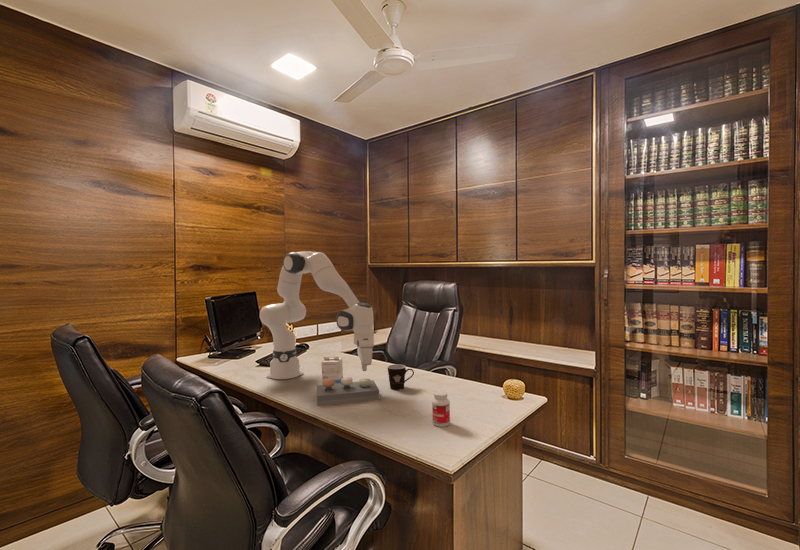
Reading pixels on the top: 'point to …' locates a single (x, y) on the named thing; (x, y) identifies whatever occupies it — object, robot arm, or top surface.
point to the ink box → (332, 369)
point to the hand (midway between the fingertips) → (364, 370)
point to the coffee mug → (397, 376)
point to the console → (346, 394)
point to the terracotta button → (328, 383)
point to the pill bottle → (441, 409)
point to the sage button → (364, 382)
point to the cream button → (346, 382)
